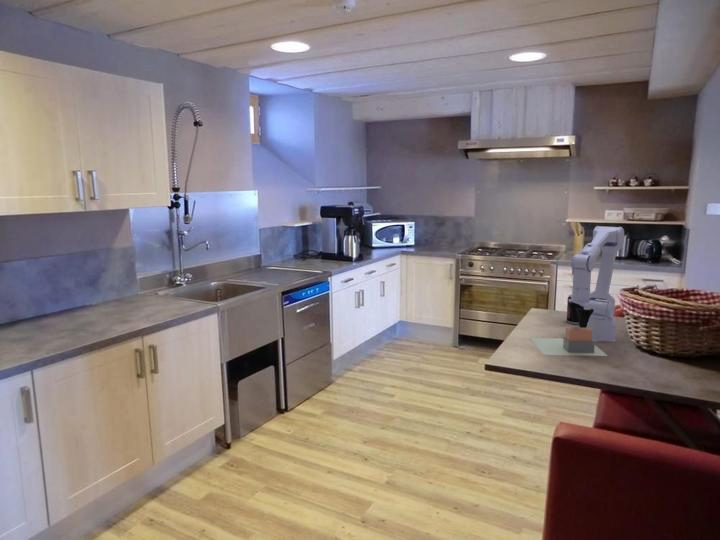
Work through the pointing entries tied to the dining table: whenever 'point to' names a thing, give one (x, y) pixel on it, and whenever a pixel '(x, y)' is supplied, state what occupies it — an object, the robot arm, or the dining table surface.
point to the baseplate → (559, 347)
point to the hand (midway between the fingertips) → (579, 324)
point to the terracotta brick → (579, 334)
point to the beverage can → (569, 316)
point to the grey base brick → (578, 346)
